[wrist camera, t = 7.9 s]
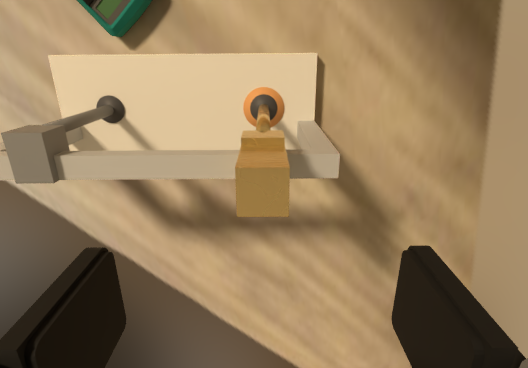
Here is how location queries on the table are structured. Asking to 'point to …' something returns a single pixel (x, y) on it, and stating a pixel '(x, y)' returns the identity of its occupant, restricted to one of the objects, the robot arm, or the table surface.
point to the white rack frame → (169, 118)
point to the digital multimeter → (116, 13)
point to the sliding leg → (262, 171)
